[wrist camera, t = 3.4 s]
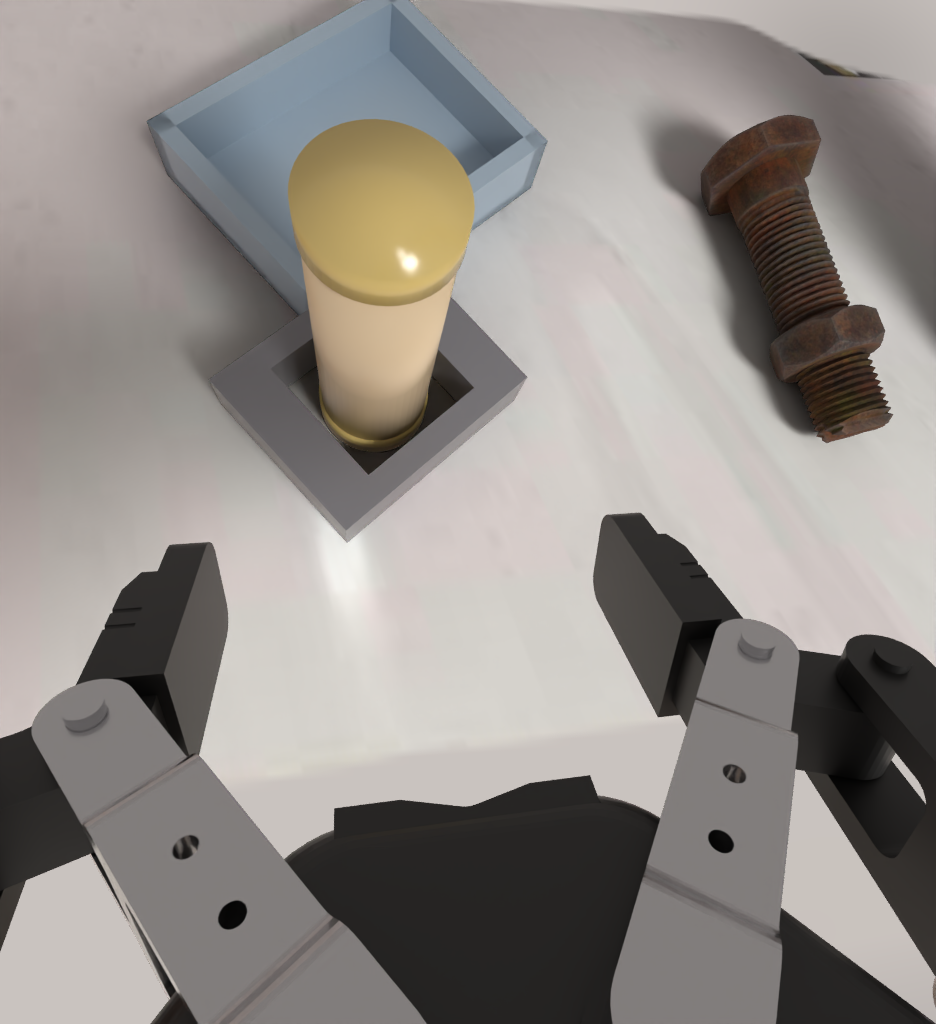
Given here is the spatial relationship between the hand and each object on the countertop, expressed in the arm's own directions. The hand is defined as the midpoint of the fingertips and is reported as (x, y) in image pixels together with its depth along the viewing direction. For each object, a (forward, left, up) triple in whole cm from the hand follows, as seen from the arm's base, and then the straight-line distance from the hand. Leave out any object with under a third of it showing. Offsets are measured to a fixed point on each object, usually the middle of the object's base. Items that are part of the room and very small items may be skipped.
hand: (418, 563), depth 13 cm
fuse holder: (-6, -7, -14) cm, 16 cm away
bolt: (-25, +2, -14) cm, 28 cm away
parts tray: (-13, -16, -14) cm, 25 cm away
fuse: (-6, -7, -14) cm, 16 cm away
